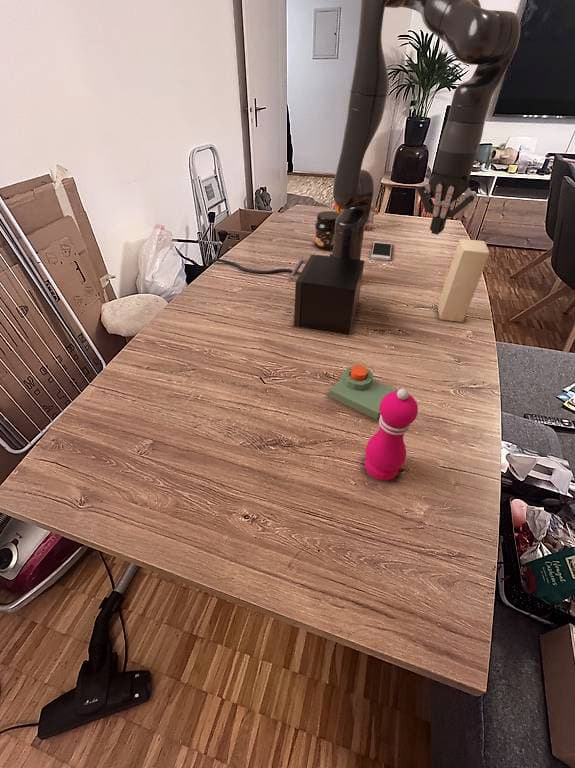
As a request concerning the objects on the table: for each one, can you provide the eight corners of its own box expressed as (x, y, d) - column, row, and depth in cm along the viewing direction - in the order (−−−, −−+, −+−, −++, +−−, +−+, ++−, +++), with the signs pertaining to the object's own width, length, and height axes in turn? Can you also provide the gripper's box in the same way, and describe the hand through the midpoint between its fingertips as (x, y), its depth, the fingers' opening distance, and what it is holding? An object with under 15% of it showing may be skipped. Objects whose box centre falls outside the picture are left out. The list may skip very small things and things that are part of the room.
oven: (300, 327, 107) (301, 281, 97) (314, 297, 120) (316, 254, 110) (348, 335, 104) (355, 289, 94) (358, 303, 117) (364, 260, 107)
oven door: (284, 324, 107) (285, 279, 98) (300, 294, 120) (302, 253, 111) (299, 326, 107) (301, 282, 97) (313, 296, 119) (316, 255, 110)
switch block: (329, 397, 85) (330, 384, 83) (349, 374, 91) (351, 361, 89) (376, 420, 80) (380, 407, 78) (395, 394, 86) (399, 382, 84)
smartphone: (370, 258, 142) (371, 256, 141) (373, 243, 153) (374, 240, 152) (389, 260, 140) (390, 258, 140) (391, 245, 151) (392, 242, 151)
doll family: (376, 228, 165) (382, 196, 156) (371, 236, 159) (376, 203, 150) (331, 221, 172) (334, 190, 163) (324, 228, 165) (326, 196, 156)
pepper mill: (358, 452, 74) (375, 376, 60) (394, 450, 74) (418, 373, 61) (367, 484, 68) (387, 408, 55) (405, 481, 69) (435, 405, 56)
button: (347, 377, 85) (348, 371, 84) (355, 369, 87) (355, 363, 86) (361, 383, 84) (362, 377, 82) (368, 375, 86) (370, 369, 85)
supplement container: (309, 243, 152) (311, 212, 144) (332, 239, 156) (335, 209, 148) (321, 253, 145) (323, 221, 137) (345, 248, 148) (348, 217, 140)
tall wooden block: (465, 323, 109) (493, 252, 95) (439, 320, 110) (462, 250, 96) (462, 309, 115) (487, 240, 101) (437, 306, 116) (458, 238, 102)
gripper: (497, 148, 76) (468, 234, 88) (433, 141, 82) (414, 222, 94) (487, 155, 72) (458, 244, 83) (420, 146, 77) (402, 231, 89)
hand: (435, 233), depth 88 cm, fingers closed
